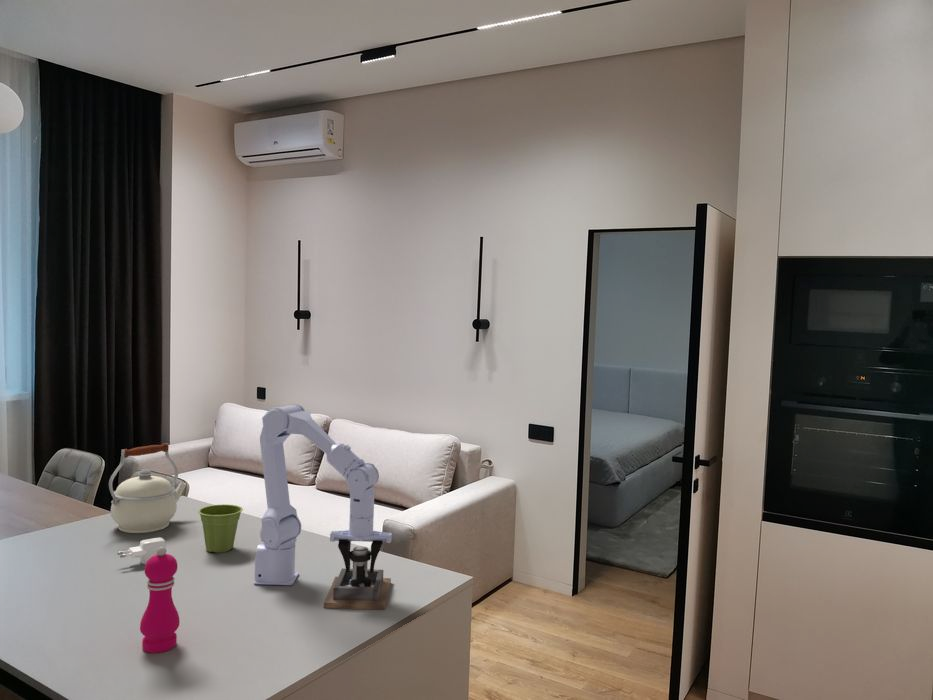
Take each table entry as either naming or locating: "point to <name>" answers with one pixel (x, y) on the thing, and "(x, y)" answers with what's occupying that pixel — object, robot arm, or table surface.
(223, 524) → the plant pot
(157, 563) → the pepper mill
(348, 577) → the socket board
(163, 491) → the kettle
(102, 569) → the table surface
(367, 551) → the push button
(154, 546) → the power adapter
